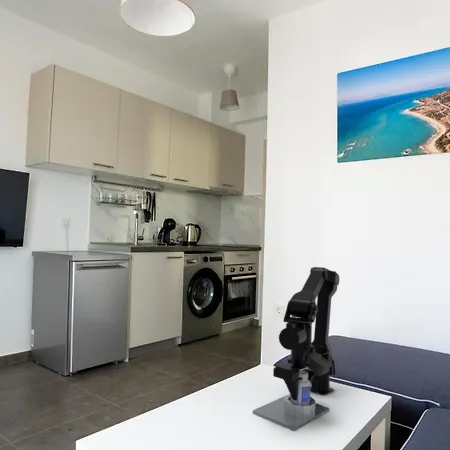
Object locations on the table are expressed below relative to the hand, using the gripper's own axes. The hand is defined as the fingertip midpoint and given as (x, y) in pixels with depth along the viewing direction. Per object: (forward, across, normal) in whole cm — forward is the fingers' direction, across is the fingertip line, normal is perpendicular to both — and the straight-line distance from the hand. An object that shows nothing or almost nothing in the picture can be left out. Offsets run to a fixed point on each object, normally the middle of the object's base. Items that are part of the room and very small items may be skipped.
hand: (300, 397), depth 112 cm
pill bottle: (+3, 0, 0) cm, 3 cm away
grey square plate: (+5, -1, +2) cm, 5 cm away
